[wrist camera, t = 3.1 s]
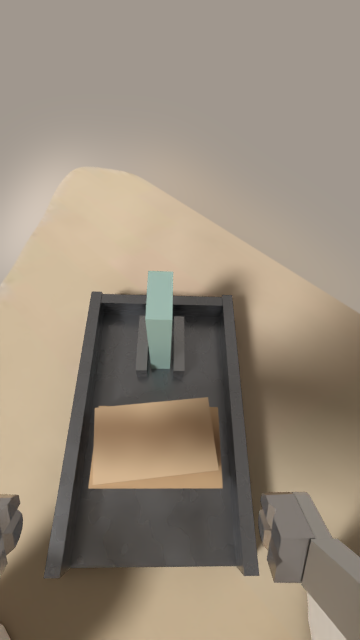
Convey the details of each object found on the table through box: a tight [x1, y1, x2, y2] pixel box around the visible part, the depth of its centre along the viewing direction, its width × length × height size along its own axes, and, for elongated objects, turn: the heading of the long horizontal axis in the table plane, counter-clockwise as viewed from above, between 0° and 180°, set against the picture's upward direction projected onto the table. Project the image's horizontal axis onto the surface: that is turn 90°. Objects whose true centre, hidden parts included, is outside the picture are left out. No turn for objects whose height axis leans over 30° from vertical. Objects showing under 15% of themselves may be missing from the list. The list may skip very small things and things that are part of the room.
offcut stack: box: [88, 397, 223, 489], centre depth 24 cm, size 6×10×4 cm, turn 90°
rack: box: [44, 292, 259, 578], centre depth 26 cm, size 22×14×3 cm, turn 0°
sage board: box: [145, 271, 173, 369], centre depth 25 cm, size 4×2×10 cm, turn 0°
